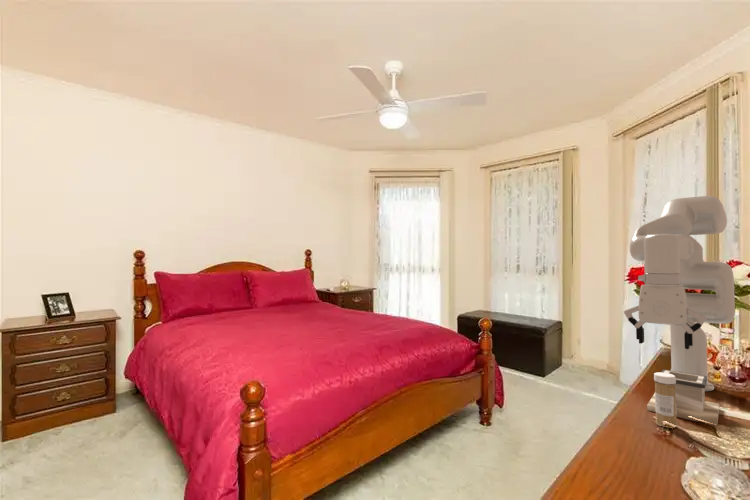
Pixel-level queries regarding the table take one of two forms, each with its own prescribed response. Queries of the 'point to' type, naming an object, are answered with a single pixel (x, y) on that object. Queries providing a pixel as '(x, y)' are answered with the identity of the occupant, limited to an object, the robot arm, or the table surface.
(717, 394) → the table surface
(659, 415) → the sprinkles bottle
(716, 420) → the silver stepped pedestal
